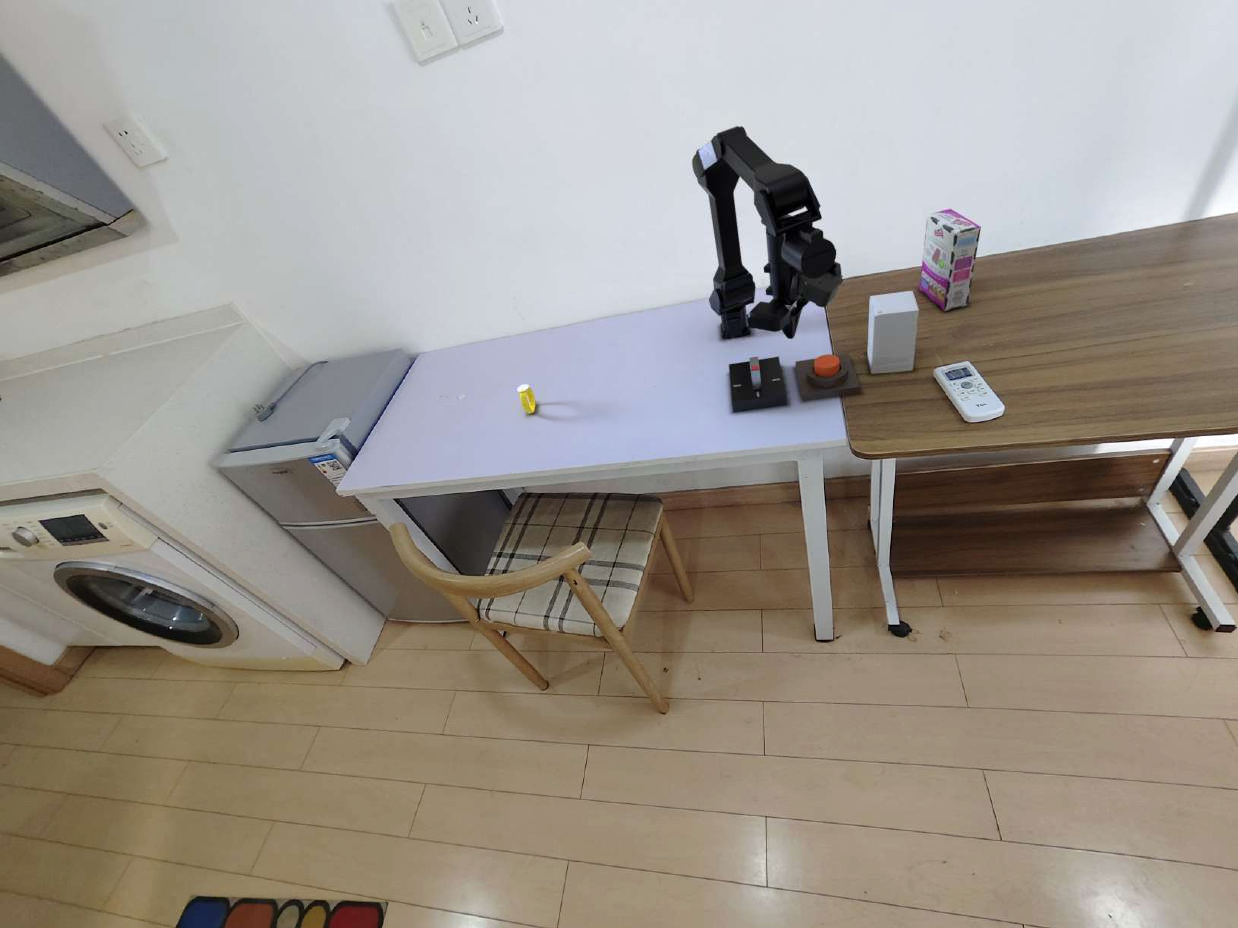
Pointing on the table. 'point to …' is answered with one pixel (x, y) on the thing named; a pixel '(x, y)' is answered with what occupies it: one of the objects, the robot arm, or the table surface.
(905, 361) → the white packaging box
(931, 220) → the candy bar box
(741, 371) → the hob panel
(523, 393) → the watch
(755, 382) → the burner knob
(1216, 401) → the table surface
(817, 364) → the button
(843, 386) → the brown button base
